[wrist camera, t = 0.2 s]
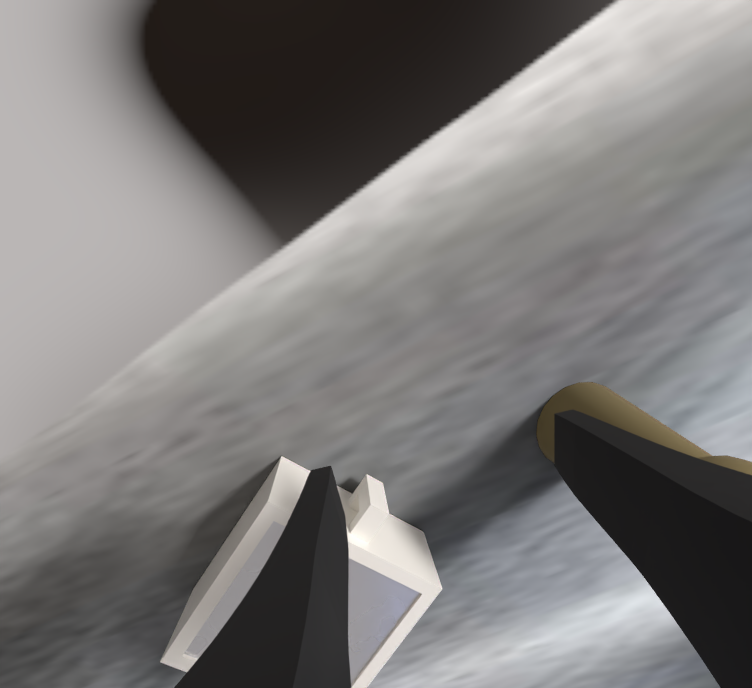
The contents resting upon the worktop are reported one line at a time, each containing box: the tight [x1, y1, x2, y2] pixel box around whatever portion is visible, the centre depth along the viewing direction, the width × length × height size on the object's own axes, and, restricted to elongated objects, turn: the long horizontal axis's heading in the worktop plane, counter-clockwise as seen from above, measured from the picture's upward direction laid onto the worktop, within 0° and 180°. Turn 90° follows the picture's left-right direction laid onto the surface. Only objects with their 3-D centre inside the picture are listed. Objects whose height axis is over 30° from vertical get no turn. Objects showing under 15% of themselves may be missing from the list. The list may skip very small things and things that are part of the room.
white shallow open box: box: [160, 456, 442, 688], centre depth 21 cm, size 13×11×4 cm
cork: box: [536, 382, 752, 475], centre depth 18 cm, size 6×6×11 cm
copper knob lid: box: [184, 521, 420, 684], centre depth 17 cm, size 9×9×5 cm
